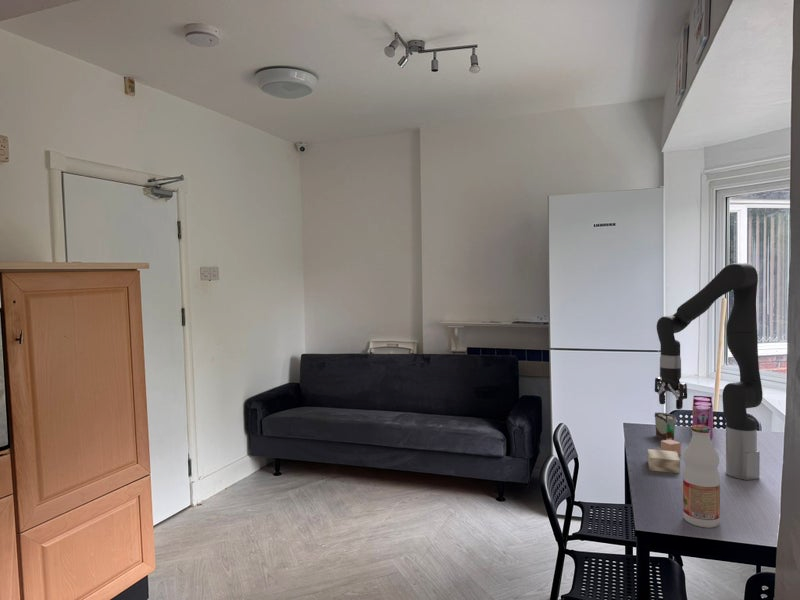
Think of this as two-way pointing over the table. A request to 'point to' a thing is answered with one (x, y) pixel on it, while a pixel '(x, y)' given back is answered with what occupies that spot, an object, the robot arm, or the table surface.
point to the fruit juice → (701, 480)
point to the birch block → (663, 461)
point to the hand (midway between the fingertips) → (670, 406)
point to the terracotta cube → (671, 446)
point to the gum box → (703, 412)
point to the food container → (665, 425)
